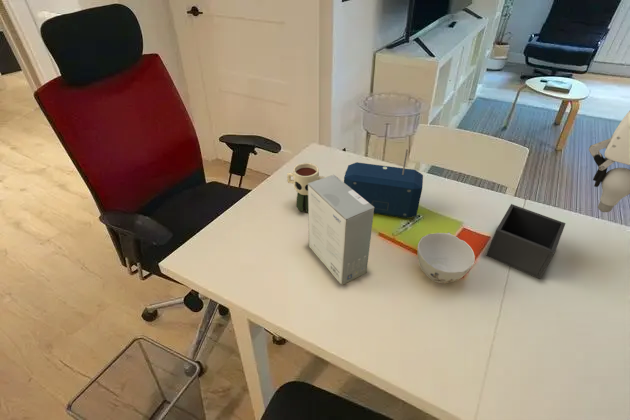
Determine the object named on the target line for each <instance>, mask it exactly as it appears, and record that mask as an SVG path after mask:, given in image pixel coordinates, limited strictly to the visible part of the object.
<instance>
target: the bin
mask: <svg viewBox="0 0 630 420" xmlns="http://www.w3.org/2000/svg"><path fill="white" fill-rule="evenodd" d="M565 227H566V222H564V221H560V220H558V219H555V218H552V217H550V216H546V215H544V214H541V213H538V212H535V211H532V210H530V209H526V208H524V207H521V206H518V205H515V204H513V203H510V205H509V207H508V209H507V210H506V212H505V214H504V216H503V218H502V219H501V220H500V222H499V224H498V226H497V227H496V229H495V232H494V235H493V236H492V239H491V242H490V244H489V247H488V249H487V252H486V254H485V256H486V257H488V258H490V259H493V260H495V261H496V262H499V263H502V264H504V265H506V266H508V267H511V268H513V269H515V270H518V271H520V272H522V273H525V274H527V275H529V276H532V277H534V278H537V279H538V280H541V278H542V277H543V274H544V272H545V271H546V269H547V267H548V265H549V264H550V262H551V260H552V259H553V257H554V255H555V253H556V252H557V251H556V250H557V248H558V245H559V242H560V240H561V237H562V235H563V232H564V229H565Z"/></svg>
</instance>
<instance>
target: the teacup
mask: <svg viewBox="0 0 630 420" xmlns="http://www.w3.org/2000/svg"><path fill="white" fill-rule="evenodd" d="M416 249H417V250H416V251H417V252H416V254H417V255H416V256H417V261H418V264H419V268H420V270H421V271H422V272H423V274H424V275H426V277H428V278H429V279H430V281H433V282H435V283H438V284H449V283H450V284H451V283H453V282H457V281H458V280H460V279H462V278H463V277H464V276H466V274H468V273H469V272H470V270H471V268H472V267H473V266H474V264H475V263H476V262H475V261H476V255H475V252H474V250H473V249H472V247H471V246H470V245H469V244H468V243H467V242H466V241H465V240H464V239H460V238H459V237H457V236H456V235H454V234H452V233H451V232H449V231H448V232H434V233H428V234H426V235H424V236H422V237H421V238H420V239H419V241H418V243H417V248H416Z"/></svg>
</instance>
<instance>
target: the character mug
mask: <svg viewBox="0 0 630 420" xmlns="http://www.w3.org/2000/svg"><path fill="white" fill-rule="evenodd" d="M291 177H293V179H292V178H291ZM325 177H326V176H323V175H320V168H319V167H318V166H317V165H316V164H314V163H310V162H302V163H299V164H297V165H295V166H294V167H293V171H292V172H287V173H286V178H287V180H286V181H287V183H288V184H293V188H294V190H295V192H296V205H295V206H296V209H297V210H298V211H299V212H304V210H305V212H306V213H308V183H311V182H314V181H316V180H319V179H322V178H325Z"/></svg>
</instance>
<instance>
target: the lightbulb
mask: <svg viewBox="0 0 630 420" xmlns="http://www.w3.org/2000/svg"><path fill="white" fill-rule="evenodd" d="M600 184H601V185H600V186H601V190H602V192H601V196H600V198H599V200H600V201H599V202H598V204H597V209H598V210H599V212H601V213H610V212H611V211H612V210H613V209H614V207H615V206H616V205H618V203H619V202H620V201H621V200H622V199H623V198H625V197H627V196H628V195H630V168H627V167H614V168H612V169H610V170H607V172H606V174H605V176H604V177H603V179H602V181H601V183H600Z"/></svg>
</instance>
